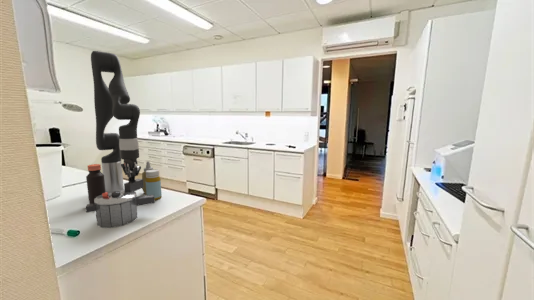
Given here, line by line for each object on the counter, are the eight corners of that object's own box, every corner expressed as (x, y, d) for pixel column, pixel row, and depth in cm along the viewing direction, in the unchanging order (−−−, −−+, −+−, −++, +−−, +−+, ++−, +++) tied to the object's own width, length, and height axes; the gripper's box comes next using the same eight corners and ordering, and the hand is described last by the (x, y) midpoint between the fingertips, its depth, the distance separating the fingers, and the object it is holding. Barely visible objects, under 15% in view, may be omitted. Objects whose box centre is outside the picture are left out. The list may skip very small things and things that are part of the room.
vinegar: (107, 206, 110) (103, 165, 107) (89, 209, 106) (84, 167, 103) (106, 201, 116) (102, 163, 113) (89, 204, 112) (85, 164, 109)
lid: (116, 207, 87) (115, 195, 86) (84, 203, 89) (83, 192, 89) (154, 189, 107) (154, 179, 106) (127, 187, 110) (127, 177, 109)
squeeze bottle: (147, 196, 124) (144, 163, 121) (139, 193, 128) (136, 161, 125) (161, 192, 131) (159, 161, 128) (152, 189, 135) (150, 159, 132)
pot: (85, 232, 86) (82, 210, 84) (91, 218, 98) (89, 198, 96) (156, 219, 97) (154, 199, 96) (154, 207, 109) (152, 189, 108)
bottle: (144, 199, 120) (141, 171, 117) (155, 195, 126) (154, 168, 123) (152, 201, 116) (150, 173, 114) (164, 197, 123) (162, 170, 120)
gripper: (113, 147, 105) (116, 184, 108) (129, 150, 99) (132, 189, 102) (129, 145, 112) (132, 180, 115) (145, 148, 105) (148, 184, 108)
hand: (132, 184), depth 108 cm, fingers closed
